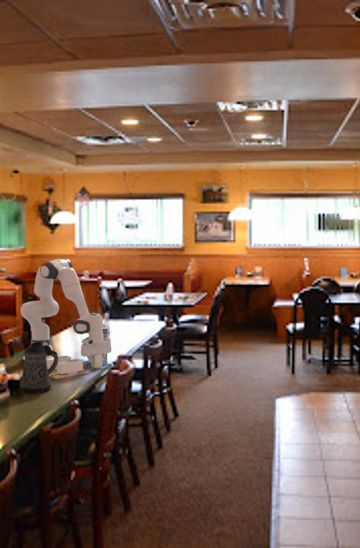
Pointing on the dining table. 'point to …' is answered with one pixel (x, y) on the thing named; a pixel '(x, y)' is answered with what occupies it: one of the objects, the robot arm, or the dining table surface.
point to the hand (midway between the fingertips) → (96, 361)
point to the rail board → (66, 367)
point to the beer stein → (37, 369)
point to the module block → (96, 361)
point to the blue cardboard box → (106, 353)
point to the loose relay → (84, 364)
